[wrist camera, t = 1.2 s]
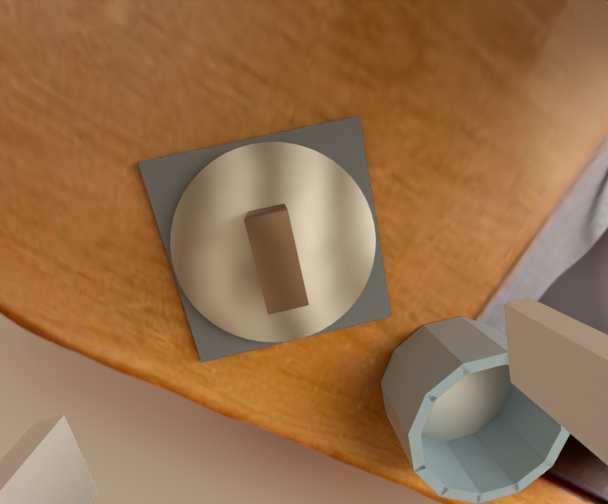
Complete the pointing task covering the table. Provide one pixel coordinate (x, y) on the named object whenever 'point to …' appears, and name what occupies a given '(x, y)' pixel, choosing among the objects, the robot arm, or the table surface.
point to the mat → (185, 166)
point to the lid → (272, 242)
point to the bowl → (466, 413)
